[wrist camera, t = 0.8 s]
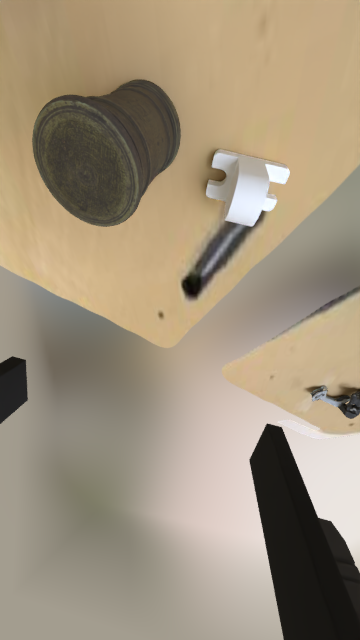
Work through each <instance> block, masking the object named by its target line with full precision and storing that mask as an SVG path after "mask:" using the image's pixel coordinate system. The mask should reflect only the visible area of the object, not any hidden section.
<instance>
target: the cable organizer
mask: <svg viewBox="0 0 360 640" xmlns="http://www.w3.org/2000/svg"><path fill="white" fill-rule="evenodd" d="M212 168H217V169H221V170H223V171H225V173H226V175H227V176H226V178H225V179H224V180H223V181H220V182H219V181H214V180H210V179H209V181H208V185H207V190H206V196H207V197H209V198H212V199H217V200H221V201H225V214H224V220H226V221H230V222H234V223H238V224H243V225H247V226H251V227H252V226H253V225H254V224H255V222H256V221H257V219H258V217H259V215H260V213H261V210H264V211H271V210H272V209H273V208H274V206H275V204H276V202H277V198H276V195H273V194H269V193H268V188H269V182H270V181H273V182H277V183H281V184H285V183H286V181H287V179H288V177H289V174H290V172H289V169H288V168H287V166H286V165H285V164H281V163H277V162H272V161H268V160H264V159H260V158H256V157H251V156H247V155H243V154H239V153H235V152H230V151H226V150H222V149H218V150H217V151H216V152H215V154H214V159H213V163H212Z"/></svg>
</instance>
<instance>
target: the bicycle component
mask: <svg viewBox="0 0 360 640" xmlns="http://www.w3.org/2000/svg"><path fill="white" fill-rule="evenodd" d="M324 388H325V389H326V390H325V391H323V389H324ZM318 390H320V391H318ZM316 391H318V392H316ZM314 392H316V393H314ZM313 393H314V394H313ZM310 394H311V395H312V401H315V400H319V399H320V400H323V401H325V402H327V403H329V404H332V405H334V406H336V407H338V408H339V409H340V410H341V411H342V412H343V414H344V415H345V416H346V417H348V418H350V419H352V418H354V417H356V416H357V415H359V413H360V392H358V391H357V392H356V393H354V394H352V395H351V396H350V397H349V396H347V395H346V396H342V397H340V398H337V399H334V398H331V397H328V396H326V394H327V387H326V386H322V387H321V388H319V389H316V390H314V391H313V392H312V393H310ZM334 400H337V401H334ZM348 401H349V403H348V404H345V403H346V402H348ZM353 404H355V405H353Z"/></svg>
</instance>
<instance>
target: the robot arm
mask: <svg viewBox="0 0 360 640" xmlns="http://www.w3.org/2000/svg"><path fill="white" fill-rule="evenodd" d="M27 399H28V398H27V377H26V360H24V359H20V358H16V357H11V358H9V359H7V360H5V361H4V362H2V363H0V424H1V423H2V422H3V421H4V420H5V419H6V418H7V417H9V416H10V415H11V414H12V413H13V412H15V411H16V410H17V409H18V408H19V407H20V406H21V405H22V404H24V403H25V402H26V401H27ZM250 465H251V471H252V476H253V480H254V486H255V492H256V497H257V502H258V507H259V512H260V518H261V523H262V527H263V533H264V538H265V544H266V549H267V554H268V559H269V564H270V570H271V575H272V580H273V585H274V590H275V596H276V601H277V606H278V611H279V616H280V622H281V627H282V632H283V637H284V640H360V573H359V570H358V568H357V567H356V566H355V562H354V560H353V557H352V556H351V553H350V551H349V549H348V547H347V544H346V542H345V540H344V539H343V538H342V536H341V535H340V533H339V532H338V530H337V529H336V528H335V526H334V525H333V524H332V522H331V521H328V520H324V519H320V518H318V516H317V514H316V512H315V509H314V506H313V504H312V502H311V499H310V496H309V494H308V492H307V489H306V486H305V484H304V482H303V479H302V477H301V474H300V472H299V469H298V467H297V464H296V462H295V459H294V457H293V454H292V452H291V449H290V447H289V444H288V442H287V439H286V437H285V434H284V432H283V429H282V427H279V426H275V425H271V424H267V425H266V427H265V429H264V431H263V433H262V435H261V437H260V439H259V441H258V443H257V446H256V448H255V450H254V452H253V454H252V456H251V458H250Z"/></svg>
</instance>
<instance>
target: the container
mask: <svg viewBox="0 0 360 640" xmlns="http://www.w3.org/2000/svg"><path fill="white" fill-rule="evenodd" d="M32 142H33V153H34V158H35V161H36V165H37V168H38V170H39V172H40V175H41V177H42V179H43V181H44V183H45V185H46V186H47V188H48V189H49V191H50V192H51V194H52V195H53V196H54V197H55V199H56V200H57V201H58V202H59V203H60V204H61V205H62V206H63V207H64V208H65V209H66V210H67V211H69V212H70V213H71V214H73V215H74V216H75V217H77V218H79V219H80V220H82V221H84V222H87V223H89V224H92V225H96V226H105V227H107V226H114V225H118V224H120V223H122V222H124V221H126V220H127V219H128V218H129V217H130V216H131V215H132V214H133V213H134V212H135V210H136V209H137V207H138V205H139V202H140V199H141V197H142V196H143V195H144V193H145V191H146V190H147V188H148V186H149V184H150V183H151V182H152V180H153V179H154V178H155V177H156V176H157V175H158V174H159V173H161V172H162V171H164V170H165V169H166V168H167V167H168V166H169V165H170V164H171V163H172V162H173V160H174V158H175V157H176V155H177V152H178V149H179V145H180V123H179V118H178V115H177V112H176V109H175V107H174V105H173V103H172V101H171V100H170V98H169V97H168V96H167V94H166V93H165V92H164V91H163V90H162V89H161V88H160V87H158V86H157V85H155V84H154V83H152V82H149V81H146V80H133V81H130V82H128V83H125V84H123V85H121V86H120V87H119V88H118V89H117V90H115V91H113V92H112V93H111V94H108V95H103V96H99V97H96V96H90V97H82V96H78V95H64V96H60V97H57V98H55V99H53V100H51V101H50V102H48V103H47V104H46V105H45V106H44V107H43V109H42V110H41V111H40V113H39V115H38V117H37V119H36V122H35V125H34V130H33V139H32Z"/></svg>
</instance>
